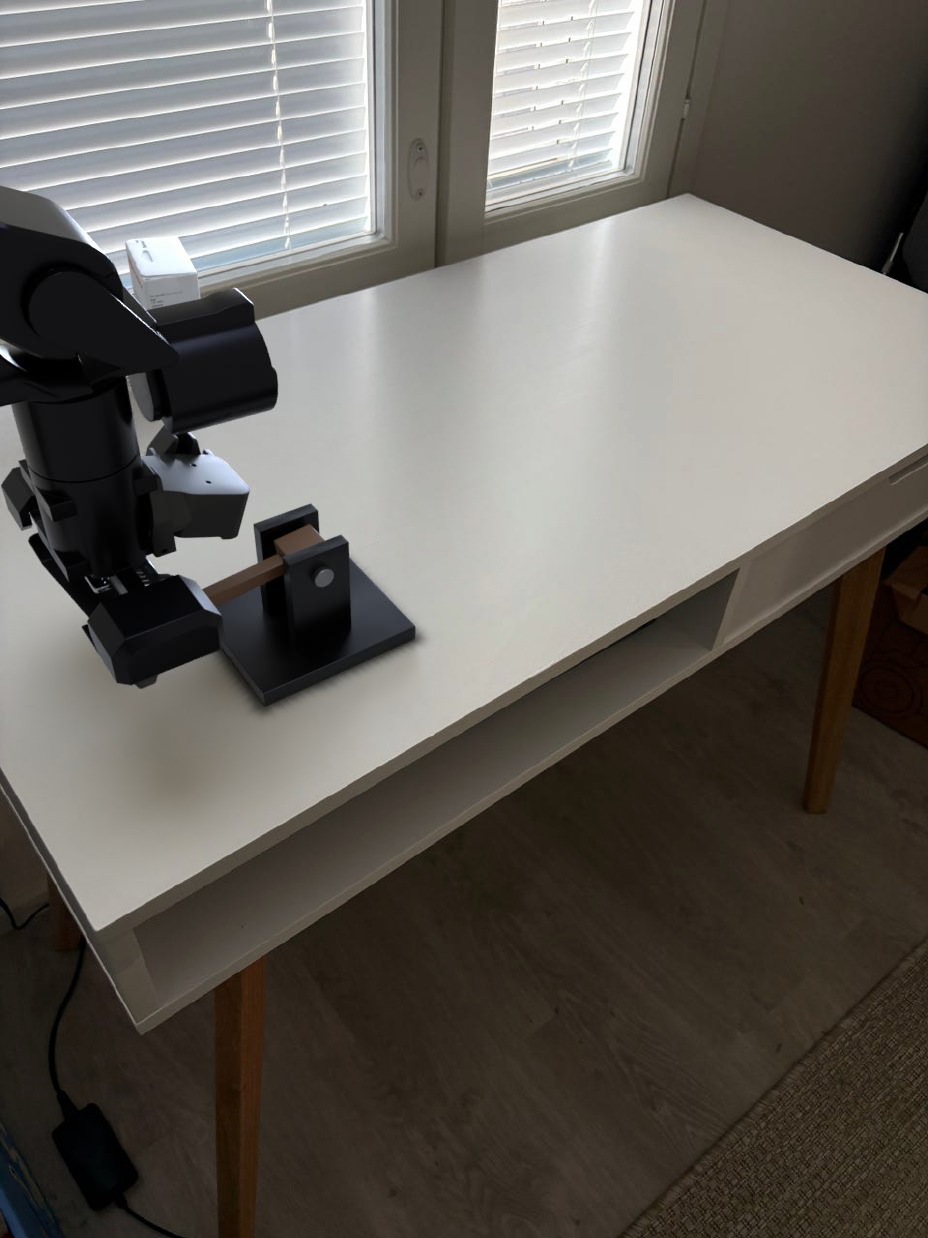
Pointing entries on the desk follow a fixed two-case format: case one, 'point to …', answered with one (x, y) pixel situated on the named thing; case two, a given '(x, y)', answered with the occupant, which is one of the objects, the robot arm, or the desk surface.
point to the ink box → (161, 272)
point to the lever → (262, 567)
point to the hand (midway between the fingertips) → (130, 658)
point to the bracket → (308, 614)
